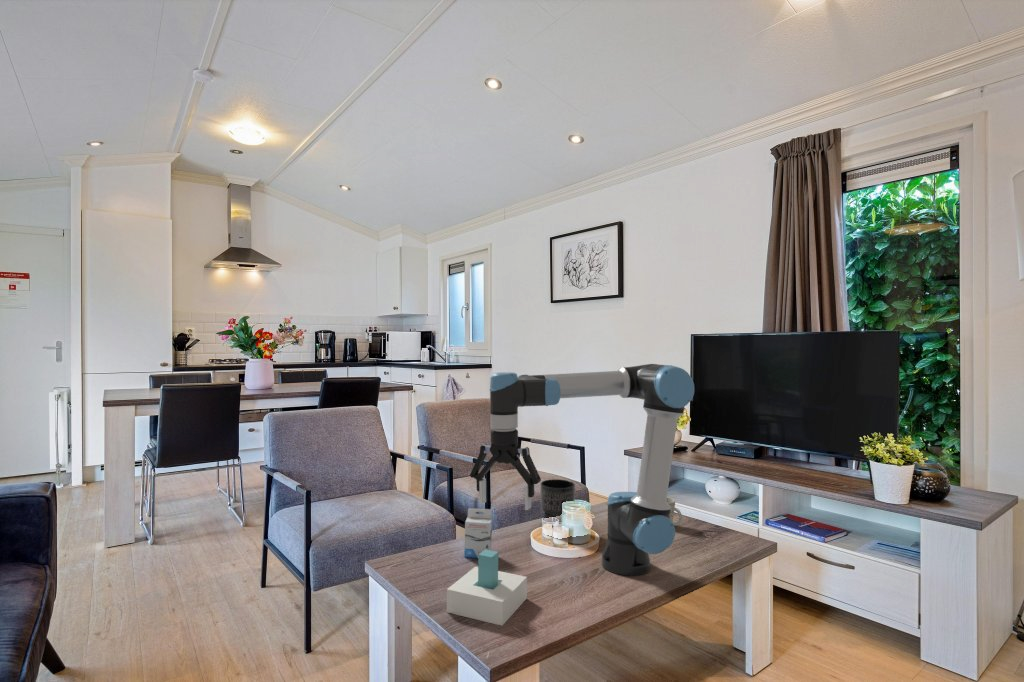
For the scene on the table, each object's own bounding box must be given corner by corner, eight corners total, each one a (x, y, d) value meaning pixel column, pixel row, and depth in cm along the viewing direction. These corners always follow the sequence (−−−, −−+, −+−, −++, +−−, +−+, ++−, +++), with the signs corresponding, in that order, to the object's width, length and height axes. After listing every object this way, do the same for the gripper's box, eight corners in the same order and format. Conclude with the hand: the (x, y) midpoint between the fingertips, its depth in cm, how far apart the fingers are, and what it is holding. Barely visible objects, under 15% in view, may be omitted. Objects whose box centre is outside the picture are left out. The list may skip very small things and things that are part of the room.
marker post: (497, 603, 150) (498, 551, 150) (491, 610, 147) (491, 557, 146) (484, 600, 152) (485, 549, 152) (477, 606, 148) (478, 554, 148)
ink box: (463, 557, 181) (464, 512, 181) (466, 551, 186) (467, 507, 186) (489, 559, 180) (490, 513, 180) (491, 553, 185) (492, 508, 185)
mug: (661, 520, 220) (661, 495, 220) (688, 529, 211) (689, 503, 211) (648, 525, 215) (648, 499, 215) (676, 534, 205) (676, 507, 205)
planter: (537, 525, 213) (538, 479, 213) (571, 525, 214) (571, 479, 214) (541, 537, 200) (542, 488, 200) (577, 537, 201) (578, 488, 201)
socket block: (526, 598, 153) (526, 576, 153) (502, 625, 139) (502, 601, 139) (475, 587, 160) (475, 566, 160) (446, 612, 145) (447, 589, 145)
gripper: (551, 429, 151) (552, 506, 152) (470, 424, 161) (470, 497, 161) (542, 434, 144) (543, 515, 145) (457, 428, 154) (458, 504, 154)
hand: (505, 506), depth 153 cm, fingers open, 13 cm apart
